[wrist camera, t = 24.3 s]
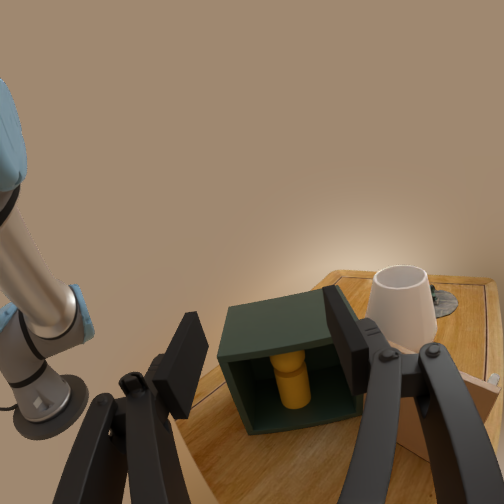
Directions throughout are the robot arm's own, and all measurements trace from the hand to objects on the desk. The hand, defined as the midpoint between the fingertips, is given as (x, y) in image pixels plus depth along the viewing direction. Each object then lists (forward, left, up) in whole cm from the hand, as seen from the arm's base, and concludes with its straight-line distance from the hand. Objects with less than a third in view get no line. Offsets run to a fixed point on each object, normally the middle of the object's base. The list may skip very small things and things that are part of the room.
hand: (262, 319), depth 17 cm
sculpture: (+38, +26, -24) cm, 52 cm away
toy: (+3, +14, -23) cm, 27 cm away
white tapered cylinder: (+23, +18, -24) cm, 38 cm away
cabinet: (+4, +15, -24) cm, 28 cm away
